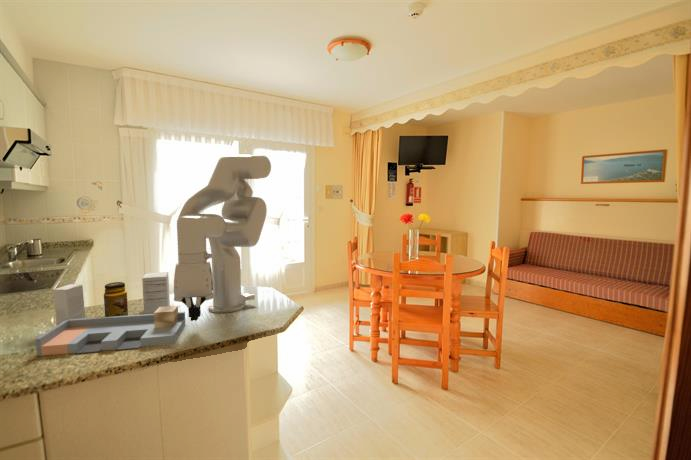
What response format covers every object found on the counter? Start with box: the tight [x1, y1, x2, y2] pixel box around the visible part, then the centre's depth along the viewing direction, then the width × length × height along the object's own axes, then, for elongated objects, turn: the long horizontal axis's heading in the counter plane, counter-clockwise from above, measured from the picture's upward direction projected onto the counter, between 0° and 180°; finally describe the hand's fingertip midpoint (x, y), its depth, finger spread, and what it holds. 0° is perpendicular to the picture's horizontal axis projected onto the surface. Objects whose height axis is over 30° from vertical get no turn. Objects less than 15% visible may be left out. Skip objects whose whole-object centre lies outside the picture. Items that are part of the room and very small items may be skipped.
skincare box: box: [52, 283, 86, 326], centre depth 100 cm, size 6×4×12 cm
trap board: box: [35, 311, 186, 357], centre depth 91 cm, size 31×14×4 cm, turn 104°
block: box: [154, 305, 179, 328], centre depth 96 cm, size 5×5×4 cm
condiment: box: [103, 281, 130, 317], centre depth 104 cm, size 7×8×12 cm
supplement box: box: [141, 271, 171, 315], centre depth 114 cm, size 7×7×13 cm
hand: (194, 318), depth 98 cm, fingers closed
